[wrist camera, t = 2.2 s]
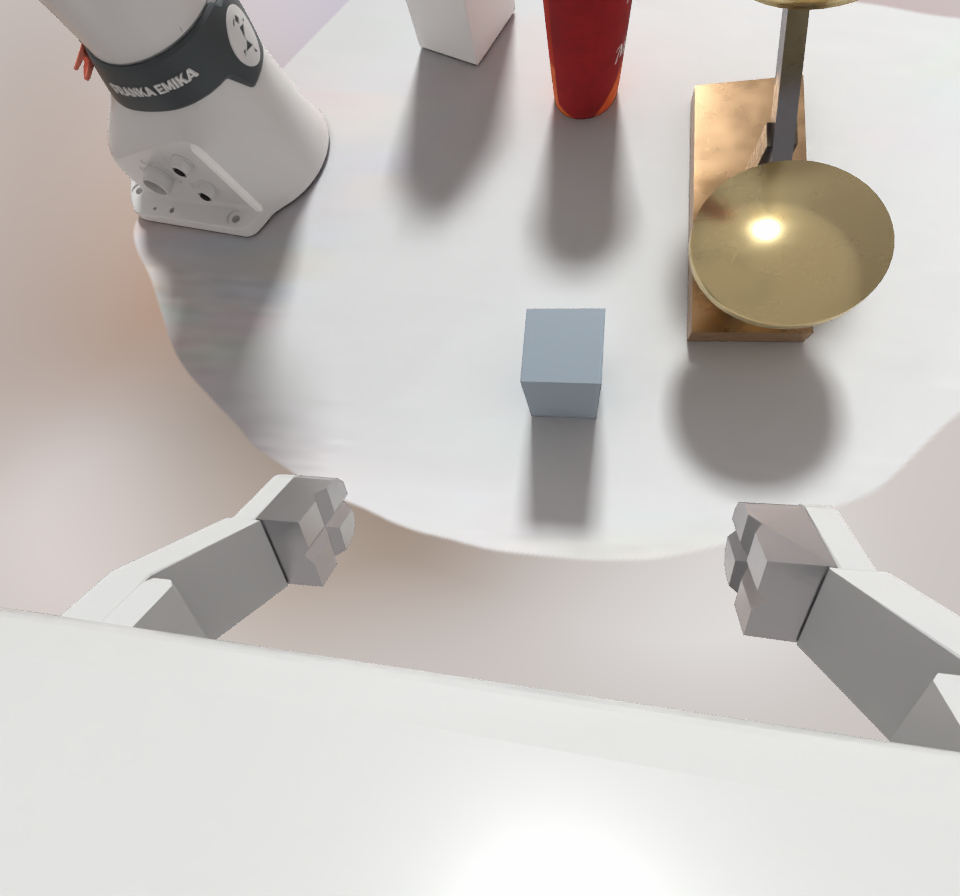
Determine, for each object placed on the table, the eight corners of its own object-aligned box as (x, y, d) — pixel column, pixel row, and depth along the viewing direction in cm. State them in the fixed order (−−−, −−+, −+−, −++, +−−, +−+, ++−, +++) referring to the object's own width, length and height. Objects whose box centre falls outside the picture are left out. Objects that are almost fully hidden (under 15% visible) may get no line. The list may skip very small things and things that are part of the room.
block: (531, 415, 38) (520, 381, 30) (536, 356, 39) (526, 308, 31) (596, 418, 37) (601, 383, 29) (599, 357, 38) (605, 308, 30)
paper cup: (647, 96, 42) (681, -120, 28) (571, 144, 42) (569, -45, 29) (598, 43, 44) (608, -181, 30) (526, 90, 44) (505, -110, 31)
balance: (665, 371, 36) (717, 268, 23) (672, 79, 41) (718, -141, 28) (827, 374, 34) (988, 262, 21) (814, 65, 39) (935, -182, 26)
